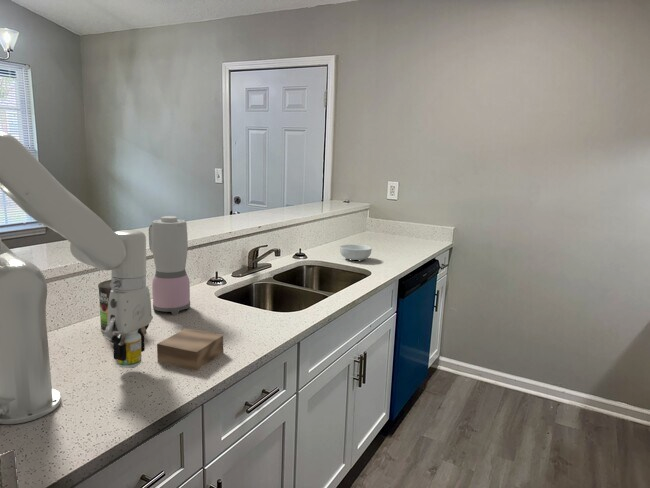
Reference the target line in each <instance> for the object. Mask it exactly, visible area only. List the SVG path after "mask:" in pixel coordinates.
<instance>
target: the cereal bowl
mask: <svg viewBox="0 0 650 488" xmlns="http://www.w3.org/2000/svg"><path fill="white" fill-rule="evenodd" d="M339 253H340V255H341V256H342V257H343V258H345V259H347V260H348V259H351V260H362V261H364V260H366V259H368V258H369V257H370V256H371V254H372V247H370V246H369V245H365V244H354V243H353V244H342V245H340V246H339Z"/></svg>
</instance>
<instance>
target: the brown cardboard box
mask: <svg viewBox="0 0 650 488" xmlns="http://www.w3.org/2000/svg"><path fill="white" fill-rule="evenodd" d="M156 349H157V350H156V351H157V354H156V355H157V363H161V364H165V365H169V366H173V367H178V368H182V369H187V370H192V371H195V372H198V371H200V369H202V368H203V367H205V366H206V365H208V364H209V363H210V362H211V361H214V360H215V359H216V358H217V357H219V356H220V355H221V354H223V353H224V334H220V333H219V334H218V333H213V332H208V331H203V330H199V329H193V328H187V327H185V328H184V329H182V330H180V331H178V332H177V333H174V334H173V335H171V336H169V337H168V338H165V339H164V340H161V341H159V342H158V343H157V344H156Z"/></svg>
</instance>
